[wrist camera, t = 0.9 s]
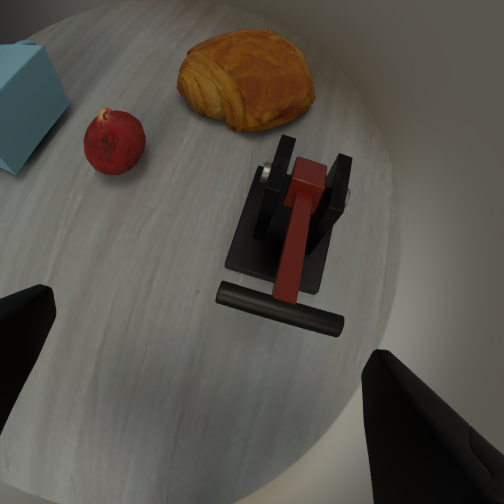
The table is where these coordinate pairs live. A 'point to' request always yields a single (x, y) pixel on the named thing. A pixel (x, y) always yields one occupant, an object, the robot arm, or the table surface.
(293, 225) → the lever
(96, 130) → the onion
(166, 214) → the table surface
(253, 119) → the croissant
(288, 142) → the bracket
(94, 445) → the table surface
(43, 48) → the teapot
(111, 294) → the table surface
